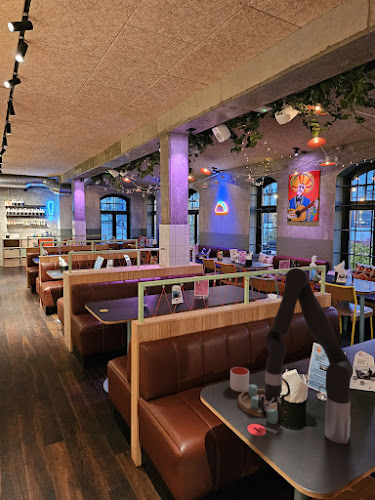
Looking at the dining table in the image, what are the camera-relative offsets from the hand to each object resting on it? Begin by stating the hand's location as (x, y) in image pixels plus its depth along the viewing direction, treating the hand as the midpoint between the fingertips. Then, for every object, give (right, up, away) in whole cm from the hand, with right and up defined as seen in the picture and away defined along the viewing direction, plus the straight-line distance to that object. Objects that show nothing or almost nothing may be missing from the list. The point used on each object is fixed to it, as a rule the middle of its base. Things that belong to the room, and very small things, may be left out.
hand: (271, 414), depth 157 cm
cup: (-10, -1, +30) cm, 32 cm away
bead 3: (0, -3, -1) cm, 3 cm away
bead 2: (-6, -2, +8) cm, 10 cm away
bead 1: (-5, 0, +20) cm, 21 cm away
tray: (-2, -2, +14) cm, 14 cm away
